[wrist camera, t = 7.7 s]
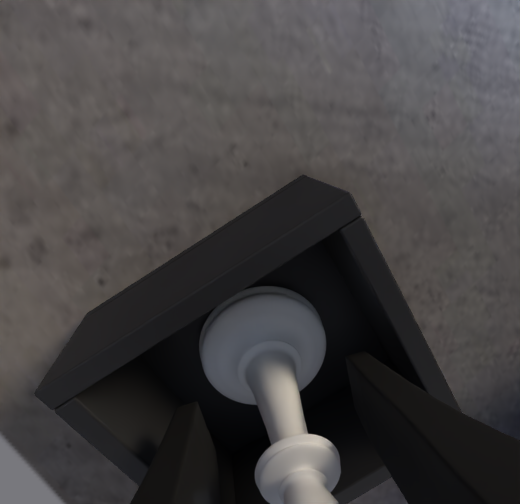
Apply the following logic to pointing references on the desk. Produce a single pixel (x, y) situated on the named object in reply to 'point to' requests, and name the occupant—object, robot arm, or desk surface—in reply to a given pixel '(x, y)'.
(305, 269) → the black bin
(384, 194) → the desk surface
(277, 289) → the chess piece
